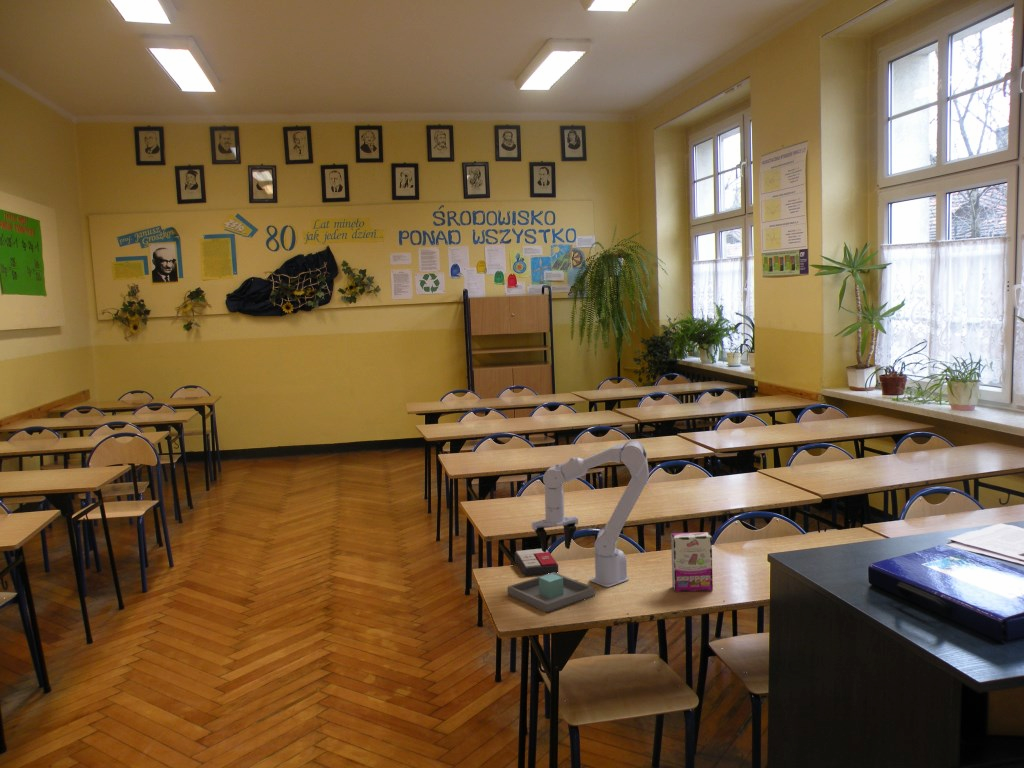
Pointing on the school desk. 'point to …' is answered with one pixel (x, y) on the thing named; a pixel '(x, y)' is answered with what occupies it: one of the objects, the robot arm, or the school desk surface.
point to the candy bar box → (691, 562)
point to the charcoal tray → (531, 596)
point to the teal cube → (551, 585)
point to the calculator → (535, 562)
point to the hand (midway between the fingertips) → (555, 549)
